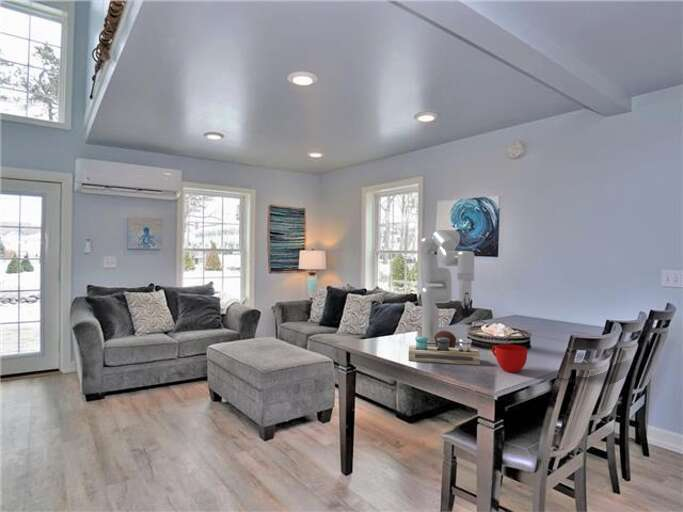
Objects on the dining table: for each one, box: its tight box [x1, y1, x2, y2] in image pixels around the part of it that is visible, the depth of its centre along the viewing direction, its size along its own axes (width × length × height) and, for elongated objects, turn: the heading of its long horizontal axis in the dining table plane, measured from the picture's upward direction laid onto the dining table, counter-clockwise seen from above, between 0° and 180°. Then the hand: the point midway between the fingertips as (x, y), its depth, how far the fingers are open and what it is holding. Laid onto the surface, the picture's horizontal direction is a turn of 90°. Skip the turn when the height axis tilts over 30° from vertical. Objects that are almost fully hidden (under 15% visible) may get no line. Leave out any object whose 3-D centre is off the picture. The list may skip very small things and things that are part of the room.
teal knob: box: [414, 335, 428, 350], centre depth 201 cm, size 6×6×6 cm
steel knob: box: [458, 337, 473, 352], centre depth 197 cm, size 6×6×6 cm
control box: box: [408, 345, 481, 366], centre depth 199 cm, size 10×32×5 cm, turn 79°
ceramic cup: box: [491, 343, 528, 373], centre depth 184 cm, size 13×17×10 cm
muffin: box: [434, 330, 457, 348], centre depth 218 cm, size 12×11×10 cm
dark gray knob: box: [437, 337, 450, 351], centre depth 199 cm, size 6×6×6 cm
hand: (465, 315), depth 197 cm, fingers open, 5 cm apart
